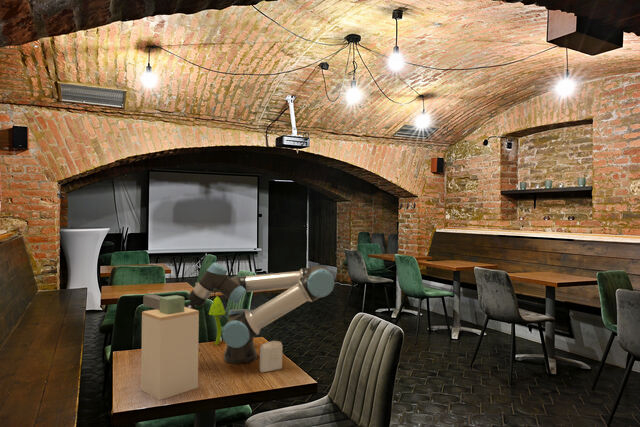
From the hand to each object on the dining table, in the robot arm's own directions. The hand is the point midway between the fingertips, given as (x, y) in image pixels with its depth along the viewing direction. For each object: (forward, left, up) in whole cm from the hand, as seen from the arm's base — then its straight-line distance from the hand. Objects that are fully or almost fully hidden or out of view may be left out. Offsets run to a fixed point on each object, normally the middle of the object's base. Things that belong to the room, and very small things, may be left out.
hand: (170, 334), depth 193 cm
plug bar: (-1, +17, +15) cm, 22 cm away
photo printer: (-44, +2, -15) cm, 46 cm away
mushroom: (-14, -36, -15) cm, 42 cm away
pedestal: (-6, +22, -15) cm, 27 cm away
